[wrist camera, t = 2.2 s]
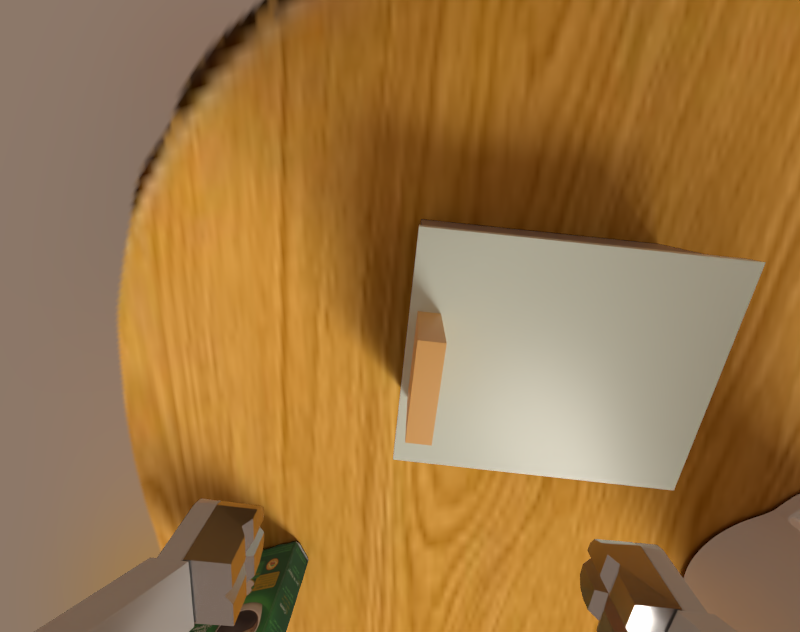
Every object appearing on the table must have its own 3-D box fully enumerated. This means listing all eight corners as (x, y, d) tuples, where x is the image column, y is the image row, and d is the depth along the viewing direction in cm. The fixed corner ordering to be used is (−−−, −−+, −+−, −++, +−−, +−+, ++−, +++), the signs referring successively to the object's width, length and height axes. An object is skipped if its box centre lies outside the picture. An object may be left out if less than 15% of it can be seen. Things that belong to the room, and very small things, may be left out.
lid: (735, 256, 20) (858, 281, 14) (655, 469, 24) (726, 552, 18) (418, 223, 20) (419, 235, 14) (394, 440, 24) (388, 514, 19)
